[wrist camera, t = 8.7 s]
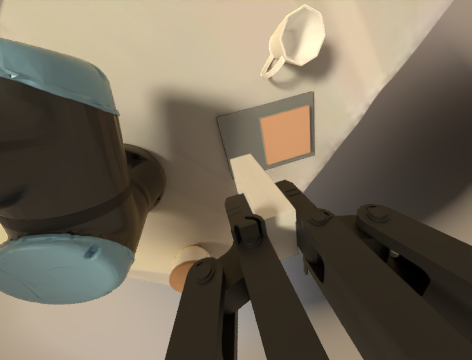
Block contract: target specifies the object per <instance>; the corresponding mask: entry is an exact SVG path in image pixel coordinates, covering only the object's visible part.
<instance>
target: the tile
mask: <svg viewBox="0 0 472 360" xmlns="http://www.w3.org/2000/svg"><path fill="white" fill-rule="evenodd" d="M258 120H259V126H260V132H261V139H262V145H263V151H264V158H265V162H266V163H267V165H270V164H273V163H276V162H280V161H283V160H286V159H290V158H293V157H296V156H300V155H303V154H306V153H310V115H309V105H301V106H298V107H294V108H290V109H287V110H283V111H280V112H276V113H273V114H269V115H265V116H262V117H258Z"/></svg>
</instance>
